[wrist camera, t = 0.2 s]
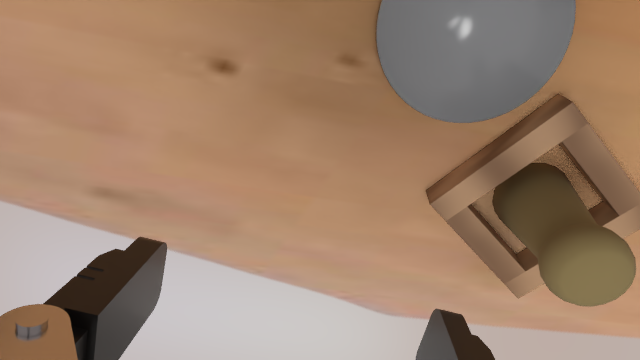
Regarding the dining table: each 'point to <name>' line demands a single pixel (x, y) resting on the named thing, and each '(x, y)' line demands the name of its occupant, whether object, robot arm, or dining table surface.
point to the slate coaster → (471, 53)
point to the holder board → (513, 155)
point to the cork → (564, 236)
